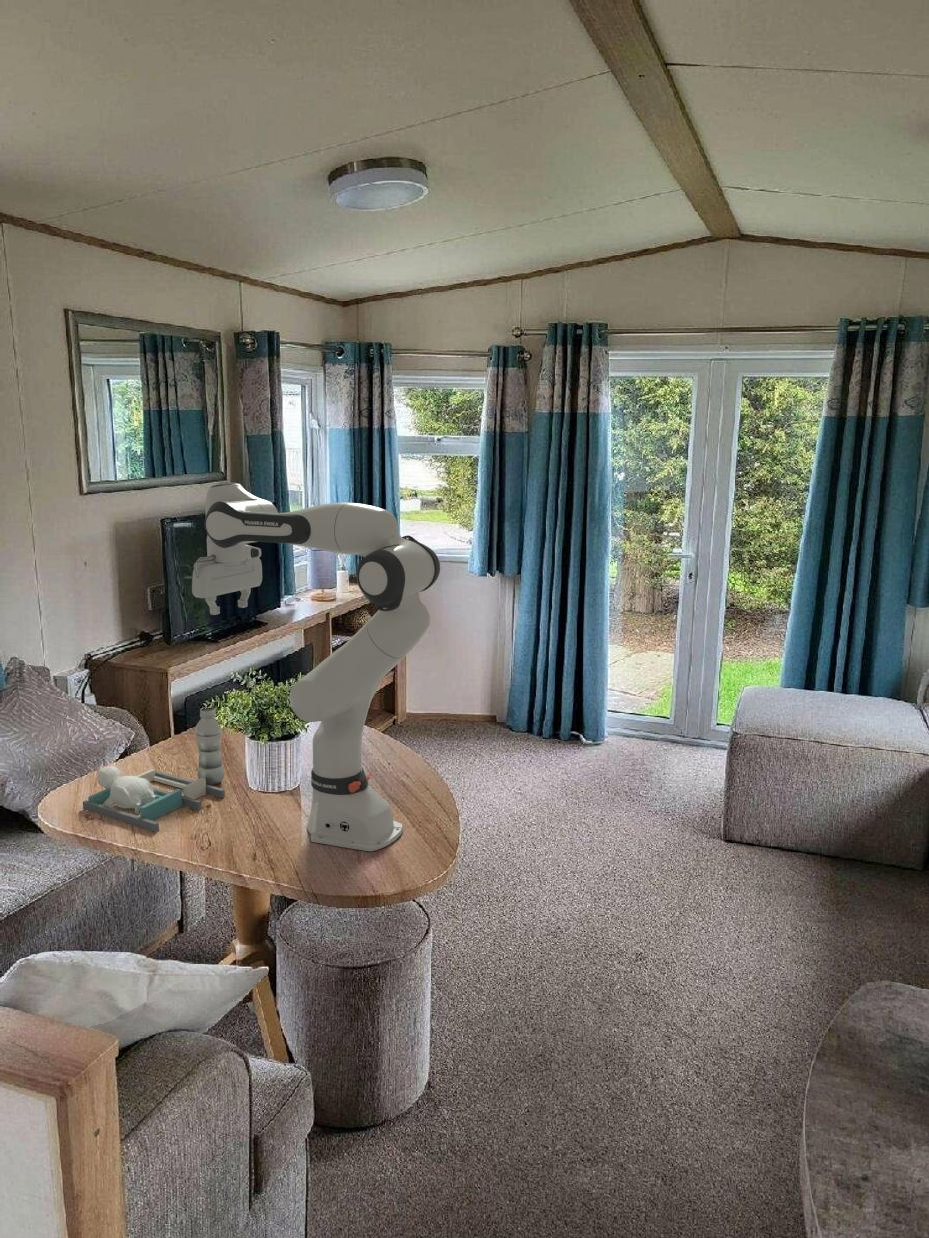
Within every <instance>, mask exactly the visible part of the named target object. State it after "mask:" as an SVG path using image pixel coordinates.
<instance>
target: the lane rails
mask: <svg viewBox="0 0 929 1238" xmlns="http://www.w3.org/2000/svg"><path fill="white" fill-rule="evenodd" d="M155 776H158V777H162V778H165V779H169V780H173V781H176V782H180V783H183V784H190V783H192V782H194V781H195V780H191V779H188V778H184V777H182V776H181V777H180V776H177V775H173V774H170V773H166V772H163V771H158V770H155ZM152 789H153V791H154V793H155V794H158V795H162V796H164V795H166V794H168V793H170V791H167V790H163V789H160V788H157V787H153V786H152ZM225 791H226V790H225V788H220V787H217V786H214V785H207V784H206V794H205V795H210V796H213V797H217V798H220V799H223V798H225V796H226V794H225V793H226V792H225ZM182 804H183V805H182V806H181V807H186V808H189V809H193V810H197V811H201V810H202V808H203V807H202V801H201V800H199V799H197V798H196V799H192V798H189V797H185V796H183V795H182ZM82 809H85V810H84V811H86V810H88V811H87V812H89V811H90V813H93V814H96V815H100V816H102V817H106V818H109V819H112V820H115V821H119V822H121V823H124V824H128V825H131V826H134V827H137V828H141V829H144V830H147V831H150V832H154V833H158V832H159V831H160V826H159V825H160V824H159V822H157V821H154V820H148V819H145V818H142V817H140V816H139V815H136V816H135V814H133V815H132V813H130V812H126V811H123V810H120V809H117V810H116V808H114V807H111V806H110V807H106V806H103V804H101V805H100V804H97V803H93V802H90V801H89V800H83V801H82ZM119 810H120V811H119ZM122 811H123V812H122ZM129 813H130V814H129Z"/></svg>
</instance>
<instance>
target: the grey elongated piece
mask: <svg viewBox="0 0 929 1238" xmlns="http://www.w3.org/2000/svg"><path fill="white" fill-rule="evenodd" d="M155 771H156V770H155V769H153V768H152V769H149V770H147V771H144V772H143V773H140V774H138V775H135V777H140V778H144V779H146V780H148V781H149V782H150V783H151V782H152V781H154V782H158V783H162V784H164V785H169V786H171V787H176V788H178V789H179V788H180V789H181V790H182V796H185V797H189V798H192V799H196V800H197V799H198V798H200V797H202V796H205V795H207V794H206V779H205V778H200V779H198V778H197V779H196V780H193V781H194V782H192V783H190V784H183V783H180V782H176V781H173V780H169V779H165V778H162V777H158V776H155Z"/></svg>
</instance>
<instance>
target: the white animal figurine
mask: <svg viewBox="0 0 929 1238" xmlns="http://www.w3.org/2000/svg"><path fill="white" fill-rule="evenodd" d="M135 776H136V775H135ZM135 776H134V775H123V774H122V773H121V771H120V769H119V768H118V767H117V766H116V765H115V766H114V765H109V766H105V767H103V768H101V769H100V770H99V771H98V772H97V776H96V777H97V783H98V785H100V786H101V787H103V789H104V790H105V789H111V790H110V797H109V798H108V799H107V800H106V801H105V802H104V803H102V805H104V806H107V807H110V808H111V807H112V806H113V805H115V804H116V805H117V806H118V807H119V808H121V809H133V810H134V815H135V814H139V813H140V807H141V806H143V805H145V804H147V803H149V802H151V801H154V800H156V799H155V797H156V795H154V791H153V789H152V787H153V786H152V785H151V782H149V781H148V780H146V779H144V778H140V777H135Z"/></svg>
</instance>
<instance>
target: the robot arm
mask: <svg viewBox="0 0 929 1238" xmlns="http://www.w3.org/2000/svg"><path fill="white" fill-rule="evenodd" d="M204 508H205V511H204V512H205V518H204V529H205V531H206V535H207V536H206V552H207V553H206V554H207V555H206V556H200V557H199V558H198V559H197V560H196V561H195V562H194V564H193V571H192V579H191V580H192V581H191V593H192V595H193V596H194V597H195V598H197V599H198V598H199V599H204V601H205V603H206V604H207V605H208V607H209V614H210V615H211V616H216V615H219V614H220V613H221V611H220V610H221V606H218V605H217V603H216V601H217V596H221V595H225V594H231V593H235V592H239V591H240V592H239V593H240V594H241V595H240V598H239V599H238V600H237V606H238V608H239V609H240V608H243V609H244V608H247V607H248V604H249V603H248V600H249V598H250V596H251V592H252V591H251V589H253V588H256V587H260V586H261V584H262V582H263V565H262V560H261V559H260V557H261V556H262V549H261V548H260V547H255V546H252V545H249V544H252V543H274V544H287V545H292V546H299V547H303V548H309V549H315V550H320V551H324V552H330V553H337V554H341V555H342V554H343V555H352V556H359V557H360V556H361V557H363V558H362V559H361V560H360V561H359V563H358V564H357V567H356V572H355V577H356V584H357V585H358V588H359V590H360V592H361V593H362V595H363V596H364V597H365V599H367V600H368V601H369V603H370V605H371V607H372V608H374V609H376V610H377V611H376V612H375V613H374V615H372V616H371V617H370V618H369V619H368V621H366V623H365V624H363V626H362V627H361V628H359V629H358V631H357V632H355V634H354V635H353V636H352V637H351V638H350V639H349V640H348V641H347V642H345V643H344V644H343V645H342V646H340V647H339V648H338V649H336V650H335V651H334V652H332V653H331V654H330V655H328V657H326V658H325V659H323V660H322V661H321V662H319V664H318V665H316V666H315V667H314V668H313V669H311V671H309V672H308V673H307V674H306V675H304V676H303V677H301V678H300V679H298V681H296V682H295V683H294V685H293V686H292V687H291V689H290V692H289V703H290V706H291V707H290V708H291V709H292V710H293V713H294V714H295V715H296V716H297V717H298V718H299V719H300V720H302V721H304V722H305V723H306V722H307V723H315V722H316V723H317V722H320V723H319V726H318V727H317V729H316V730H315V732H314V734H313V737H312V768H311V776H310V784H311V787H312V799H311V807H310V808H311V809H310V814H309V817H308V822H307V824H306V829H307V831H308V833H309V834H310V841H311V842H312V843H317V844H322V845H323V844H324V845H328V846H334V847H340V848H347V849H353V850H359V851H365V852H374V851H378V850H380V849H383V848H385V847H387V846H389V845H391V844H393V842H395V841H396V840H398V838H399V837H401V835H402V834H403V831H404V828H403V827H404V826H403V824H402V823H400V822H399V821H396V820H394V815H393V811H392V807H391V806H390V804H389V802H387V801H386V800H385V799H384V798H383V797H382V796H381V795H380V794H379V793H377V791H376V790H375V789H373V788H372V787H371V785H369V780H371V779H372V773H369V774H368V775H366V772H365V770H364V768H363V766H362V753H363V752H362V749H363V748H362V747H363V746H362V744H363V743H362V742H363V732H364V728H365V723H366V719H367V717H368V712H369V709H370V705H371V702H372V701H373V698H374V696H375V694H376V693H377V691H378V689H379V686H380V682H381V680H382V679H383V678H385V676H386V675H388V674H389V672H391V670H393V669H394V668H395V667H396V666H397V665H398V664H399V663H400V662H401V661H402V660H403V659H404V658H405V657H406V656H407V655H408V654H409V653H410V652H412V650H413V649H414V648H415V647H416V646H417V644H418V643H419V642H420V641H421V639H422V637H423V636H424V635H425V633H426V632H427V630H428V628H429V626H430V623H431V616H430V612H429V611H428V608H427V607H426V605H425V604H424V603H423V602H422V600H421V598H420V592H425V591H426V590H428V589H430V588H431V587H432V586H433V585H434V584H435V583H436V582H437V580H438V578H439V576H440V573H441V563H440V559H439V558H438V555H437V554H436V552H435V551H434V550H433V549H431V548H430V547H429V546H428V545H425V544H423V543H422V542H419V541H418V540H417V539H415V538H414V537H413V536H411V535H403V536H401V535H400V532H399V526H398V525H399V524H398V521H397V518H396V517H395V516H394V515H393V513H392V512H391V511H389V510H387V509H384V508H381V507H378V506H375V505H369V504H364V503H356V502H347V501H346V502H343V501H342V502H331V503H323V504H319V505H315V506H310V507H306V508H302V509H298V510H293V511H287V512H279V510H278V508H277V507H276V505H275V504H274V503H273V502H272V501H270V500H267V499H263V498H260V497H259V496H256V495H254V494H252V493H251V492H250V491H247V490H246V489H245V488H244V487H243V486H242V484H241V483H237V482H226V483H219V484H214V485H211V486H210V487H209V488H208V489H207V491H206V497H205V507H204Z"/></svg>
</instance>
